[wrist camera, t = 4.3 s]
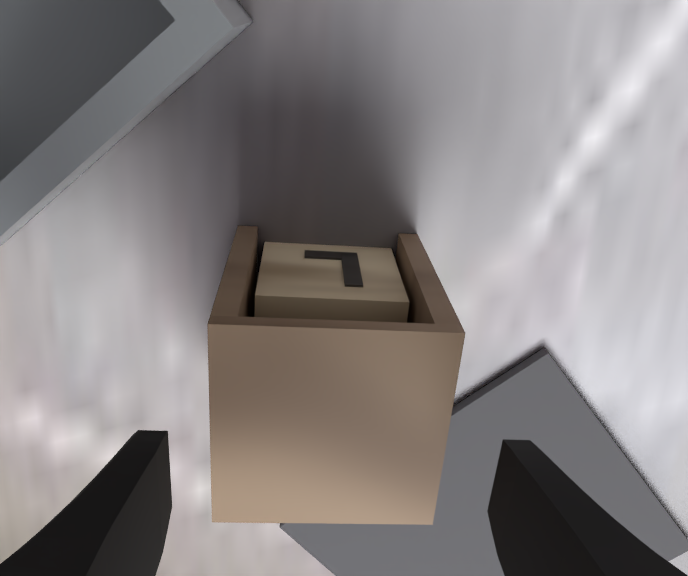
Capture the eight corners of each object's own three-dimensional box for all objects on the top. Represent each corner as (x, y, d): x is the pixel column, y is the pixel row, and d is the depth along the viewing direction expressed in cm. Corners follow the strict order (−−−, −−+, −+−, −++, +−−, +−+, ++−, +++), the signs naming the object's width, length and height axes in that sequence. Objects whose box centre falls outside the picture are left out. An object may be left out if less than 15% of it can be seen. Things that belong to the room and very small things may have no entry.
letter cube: (378, 355, 21) (393, 428, 18) (262, 351, 21) (252, 424, 17) (391, 245, 20) (409, 300, 16) (265, 238, 19) (254, 294, 16)
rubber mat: (450, 668, 28) (452, 676, 28) (280, 519, 24) (279, 527, 24) (688, 540, 26) (693, 547, 25) (544, 347, 22) (548, 353, 21)
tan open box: (398, 384, 22) (433, 524, 16) (238, 379, 21) (212, 522, 16) (417, 234, 20) (465, 332, 14) (237, 225, 19) (207, 324, 13)
